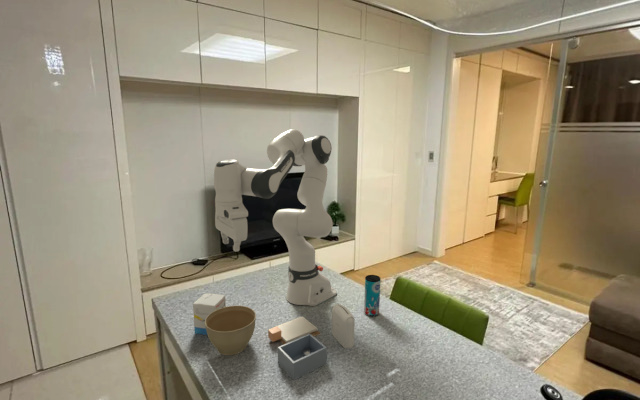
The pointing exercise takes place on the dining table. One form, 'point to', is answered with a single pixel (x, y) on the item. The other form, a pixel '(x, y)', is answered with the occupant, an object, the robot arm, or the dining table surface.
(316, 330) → the mat
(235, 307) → the planter bowl
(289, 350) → the tub
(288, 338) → the lid
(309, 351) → the part
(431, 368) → the dining table surface
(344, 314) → the photo printer
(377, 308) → the beverage can
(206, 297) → the ink box
